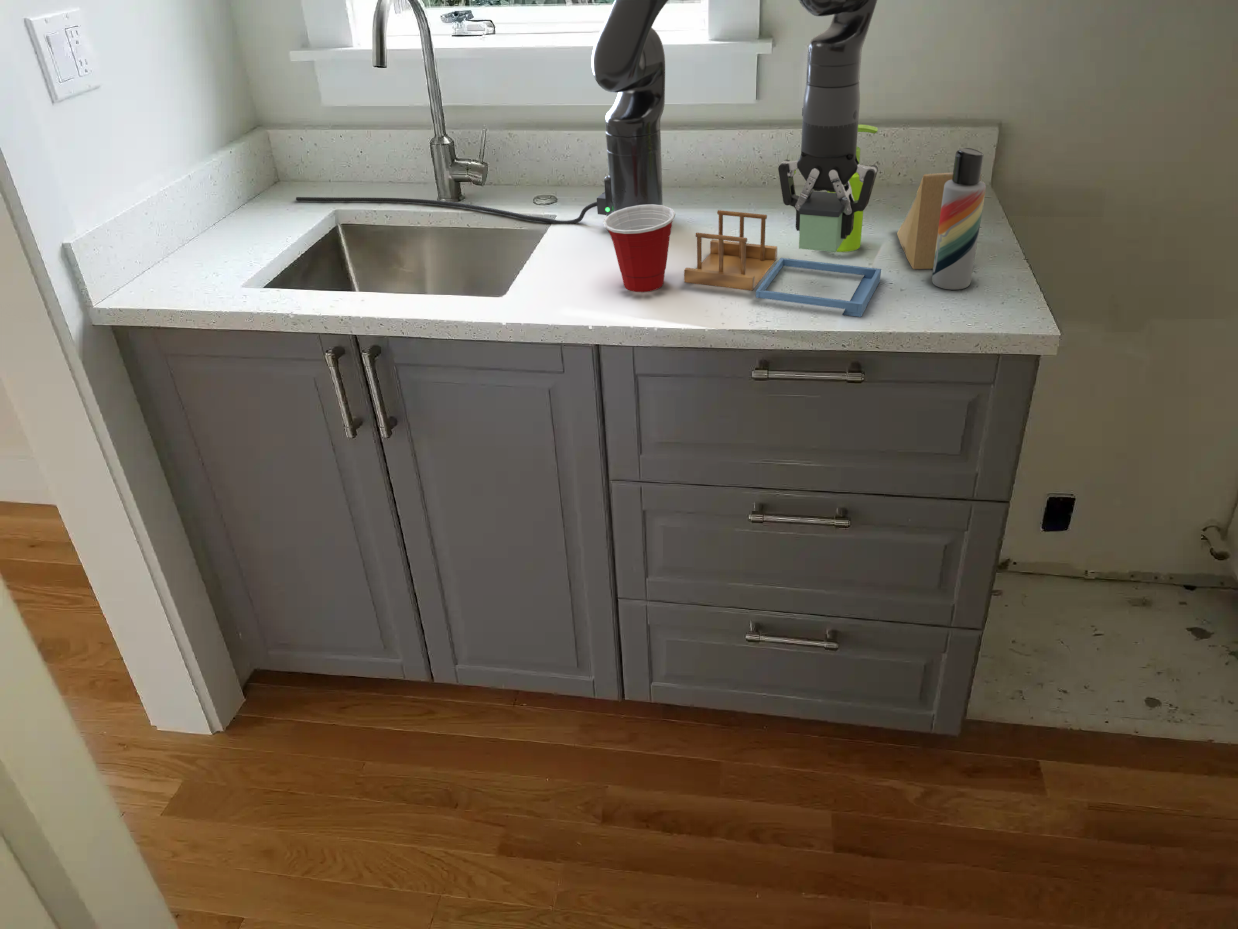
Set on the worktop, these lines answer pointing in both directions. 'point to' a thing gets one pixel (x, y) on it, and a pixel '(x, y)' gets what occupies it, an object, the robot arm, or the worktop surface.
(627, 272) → the plastic cup
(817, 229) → the tub
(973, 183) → the lotion bottle
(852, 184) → the soap dispenser
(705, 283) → the dish rack
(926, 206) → the sandwich container
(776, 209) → the worktop surface
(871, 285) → the tray
